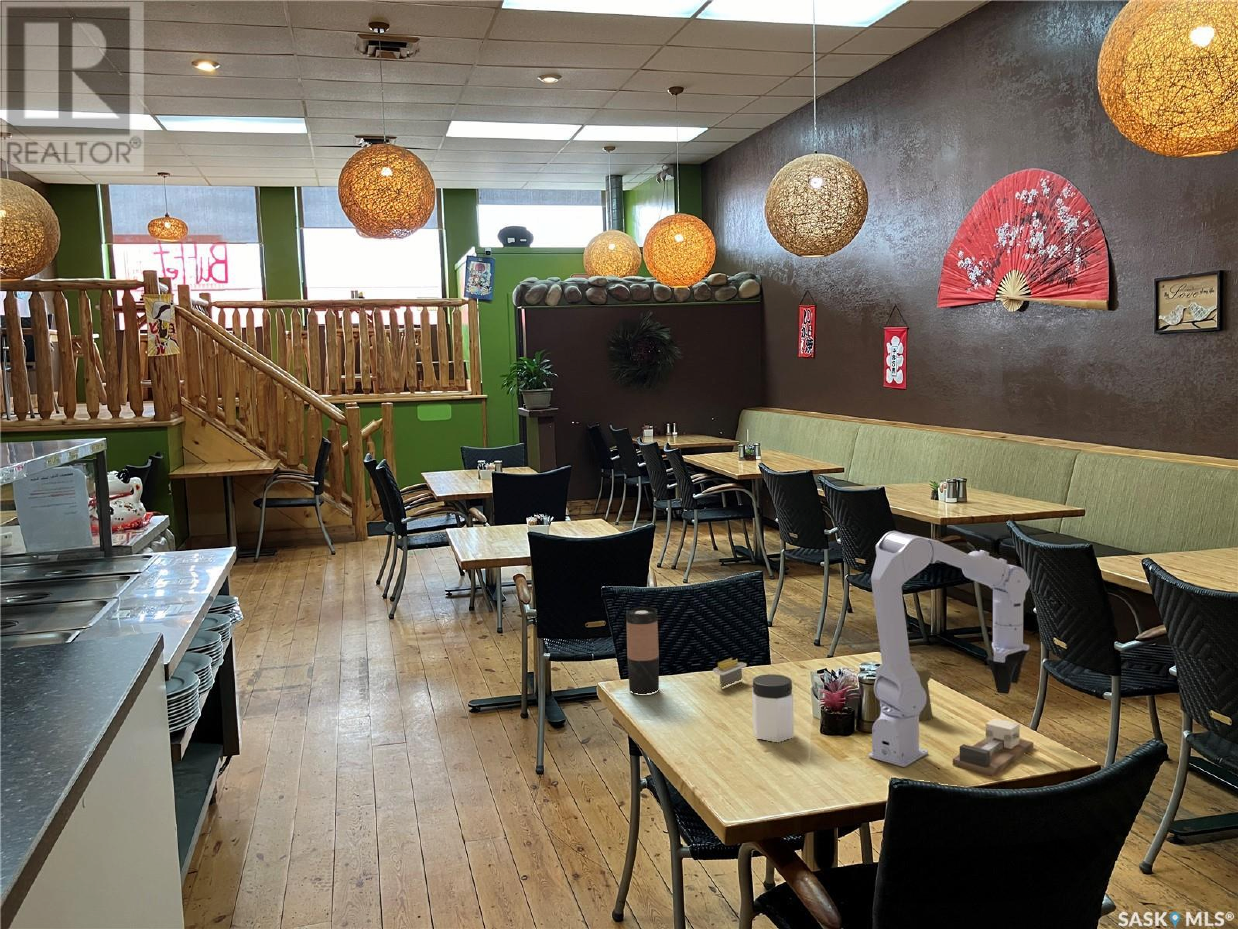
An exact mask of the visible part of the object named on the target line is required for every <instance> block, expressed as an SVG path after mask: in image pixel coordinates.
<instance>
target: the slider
mask: <svg viewBox="0 0 1238 929" xmlns="http://www.w3.org/2000/svg"><path fill="white" fill-rule="evenodd" d="M985 738H986V743H990V742H991V741H993V740H994V739H1000V740H1004V747H1005V748H1009V749H1012V748H1013V747H1015V746H1016V745H1018V744H1019V743H1020V739H1021V738H1020V723H1017V722H1012V721H1009V720H1004V719H1000V718H995V717H994V718H993V719H991V720H989V721H988V722H986V723H985Z"/></svg>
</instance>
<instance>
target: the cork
mask: <svg viewBox="0 0 1238 929" xmlns="http://www.w3.org/2000/svg"><path fill="white" fill-rule="evenodd" d="M912 666H913V668H914V669H915V671H916V672H917V674H918V675H919V677H920V683H921V686H922V687H923V689H924V690H925V692H926V697H927V700H926V704H925V706H924V708H923V710H922V711H921V712H920V715H919V721H928V720H927V719H929V720H932V719H933V710H932V703H931V697H930V689H929V681H930V680H931V672H930V670H929V668H928V667H926V666H923V665H912Z"/></svg>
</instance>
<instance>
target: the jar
mask: <svg viewBox="0 0 1238 929" xmlns="http://www.w3.org/2000/svg"><path fill="white" fill-rule="evenodd" d="M792 682H793V681H792V679H791V678H790V677H789V676H785V675H780V674H773V673H771V674H770V673H769V674H762V675H757V676H755V677H754V678H753V679H752V690H751V693H752V694H751V698H752V732H753V735H754V736H755V739H756V738H757V739H763V740H768V741H772V742H771V743H774V742H777V743H776V744H778V742H779V743H781V741H782V742H785V741H784V740H786V741H788V740H787V739H789V740H792V739H794V738H795V728H794V726H795V725H794V720H795V719H794V694H793V683H792ZM791 738H792V739H791ZM757 739H756V740H757ZM768 741H767V742H768Z"/></svg>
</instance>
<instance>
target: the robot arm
mask: <svg viewBox="0 0 1238 929" xmlns="http://www.w3.org/2000/svg"><path fill="white" fill-rule="evenodd" d="M875 554H876V557H875V562H874V563H873V564H874V565H873V568H872V571H871V572H872V573H871V576H870V580H871V581H870V583H871V587H872V589H871V590H872V598H873V603H874V604H873V605H874V612H875V619H876V626H877V635H878V636H877V637H878V642H879V650H880V656H881V658H880V659H881V664H880V665H879V666H878V667H876V669H875V681H874V684H873V693H874V695H875V697H876V699H877V700H879V706H880V715H879V717H878V718H877V719H876V720H875V722H874V723H873V725H872V727H871V728H872V730H871V731H872V732H871V736H872V737H871V738H872V741H871V744H872V747H871V749H872V751H871V752H870V753H868V754H867V755H868V757H869V758H872V759H875V760H878V761H882V762H884V763H889V764H892V765H896V766H898V767H902V768H906V767H907V766H909V765H910V764H912V763H914V762H916V761H917V760H919V759H920V758H922V757H924V756H925V755H927V754H928V753H929V751H928V750H927V749H923V748H920V720H919V715H920V712H921V711H922V710H923V708H924V706H925V704H926V700H927V697H926V692H925V690H924V689H923V687H922V686H921V683H920V677H919V675H918V674H917V672H916V671H915V669H914V668H913V666H914V665H913V664H912V660H911V653H910V646H909V636H908V629H907V628H908V627H907V623H906V615H905V614H906V613H905V607H904V599H903V591H902V590H903V589H902V586H903V585H904V584H905V583H906V582H908V581H909V580H910V579H911V578H913V577H914V576H916V575H917V574H919V573H920V572H921V571H922V570H924V569H926V567H927V566H929V564H935V563H936V562H937V561H939V562H942V563H945V564H948V565H951V566H954V567H957V568H960V569H961V571H962V574H963V575H964V577H965V578H967V579H970V580H972V581H975V582H976V583H979V584H982V585H985V586H986V587H987V586H988V587H989V588H990V589H992V642H991V647H992V649H993V656H990V655H989V656H988V657H987V658H986V663H987V665H988V667H989V668H990V671H991V673H992V675H993V679H994V685H995V688H996V691H997V693H999V694H1005V695H1009V693H1010V691H1011V686H1012V684H1018V682H1019V680H1020V675H1021V670H1022V668H1023V663H1024V660H1025V658H1026V656H1027V654H1028V653H1029V649H1030V645H1029V644H1026V643H1025V644H1024V602H1025V600H1026V593H1027V591H1028V590H1029V588H1030V585H1031V579H1030V578H1029V577H1028V576H1029V575H1028V574H1027V572H1026V571H1025V569H1024V568H1023V567H1020V566H1018V565H1014V564H1008V560H1007V559H1004V558H995V557H993V556H990V552H988V551H986V550H983V549H980V550H979V551H978V550H973V551H971V552H969V553H966V552H964V551H962V550H959V549H958V548H955V547H953V546H950V545H949V544H946V543H944V542H942V541H940V540H936V539H932V538H928V537H923V536H918V535H916V534H915V535H914V534H908V533H903V532H900V531H897V530H892V531H891V530H890V531H888V532H886V533H885V534H884V535H883V536H882V537H881V538H880V540H879V541H878V542H877V543H876V544H875Z"/></svg>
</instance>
